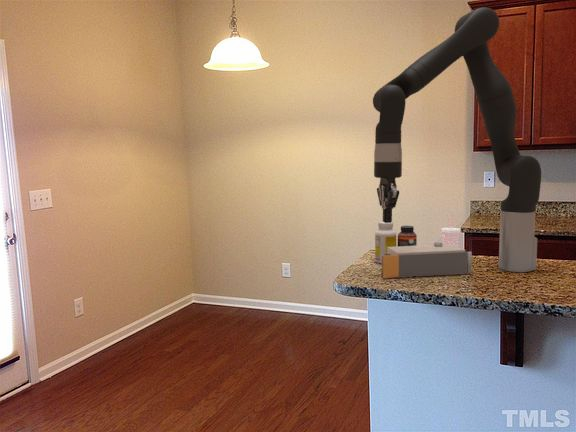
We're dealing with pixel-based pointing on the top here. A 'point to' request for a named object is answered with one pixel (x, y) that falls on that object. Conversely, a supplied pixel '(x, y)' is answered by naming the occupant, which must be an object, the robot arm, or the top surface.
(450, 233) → the beverage cup
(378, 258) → the supplement bottle
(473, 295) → the top surface
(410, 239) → the supplement bottle
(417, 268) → the side door
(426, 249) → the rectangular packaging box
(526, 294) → the top surface
